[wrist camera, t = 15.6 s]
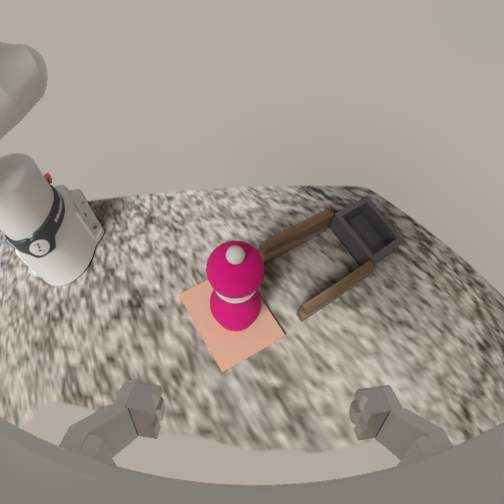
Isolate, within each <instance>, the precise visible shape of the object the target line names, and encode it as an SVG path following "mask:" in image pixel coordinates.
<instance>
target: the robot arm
mask: <svg viewBox="0 0 504 504" xmlns="http://www.w3.org/2000/svg"><path fill="white" fill-rule="evenodd" d="M46 85H47V68H46V64H45V61H44V59H43V58H42V56H41V54H39V52H38V51H36V50H35V49H34V48H32V47H30V46H27V45H22V44H18V45H17V44H7V43H2V42H0V139H1V138H2V137H3V136H4V135H6V134H7V133H8V132H9V131H10V130H11V129H12V128H13V127H14V126H16V125H17V124H18V123H19V122H20V121H21V120H22V119H23V118H24V116H26V114H27V113H28V112H29V111H30V110H31V109H32V108H33V107H34V105H36V103H37V102H38V101H39V100H40V99H41V98H42V97H43V95H44V93H45V89H46ZM50 183H52V178H51V176H50V174H49V173H47V174H45V175H44V176H43V174H42V173H41V171H40V169H39V168H38V166H37V165H36V163H35V161H34V160H33V159H32V158H31V157H29V156H27V155H25V154H19V153H17V154H9V155H6V156H3V157H1V158H0V230H1V231H2V232H3V233H4V234H5V236H6V238H7V240H8V241H9V242H10V244H11V245H12V246H13V247H14V248H16V253H17V255H18V256H19V257H20V258H21V259H22V260H23V261H24V262H25V263H26V264H27V265H28V266H29V273H30V274H31V275H32V276H35V277H40V278H42V279H43V280H44V281H45V282H47V283H48V284H50V285H54V286H61V285H65V284H68V283H70V282H72V281H74V280H75V279H76V278H78V277H79V276H80V275H81V274H82V273H83V272H84V270H85V269H86V268H87V266H88V265H89V263H90V261H91V259H92V256H93V253H94V250H95V247H96V245H97V243H98V242H99V241H100V239H101V238H102V236H103V234H104V229H103V227H102V226H101V224H100V222H99V221H98V219H97V217H96V216H95V214H94V212H93V211H92V209H91V207H90V205H89V204H88V202H87V200H86V199H85V197H84V195H83V193H82V192H81V191H80V190H71V191H69V190H68V189H67V187H66V186H64V185H59V186H55V187H53V186H52V185H50ZM96 227H97V228H96ZM95 228H96V229H95ZM161 395H162V389H161V386H159V385H153V384H147V383H142V382H136V381H131V380H126V381H125V382H124V383H123V385H122V387H121V389H120V391H119V393H118V395H117V397H116V399H115V401H114V403H113V405H108V406H106V407H104V408H102V409H101V410H99V411H97V412H95V413H94V414H92V415H90V416H88V417H86V418H85V419H83V420H81V421H79V422H77V423H75V424H73V425H71V426H70V427H69V429H68V430H67V433H66V434H65V436H64V438H63V440H62V441H61V443H60V445H59V446H57V445H54V444H52V443H50V442H47V441H45V440H43V439H41V438H38V437H37V436H35V435H33V434H30V433H28V432H26V431H25V430H23V429H21V428H19V427H17V426H15V425H13V424H11V423H10V422H8V421H6V420H5V419H3V418H1V417H0V504H504V423H502V424H500V425H498V426H496V427H494V428H492V429H490V430H488V431H486V432H484V433H482V434H480V435H478V436H476V437H474V438H472V439H470V440H468V441H466V442H463V443H461V444H459V445H456V446H454V447H453V445H452V443H451V442H450V440H449V438H448V437H447V435H446V433H445V431H444V430H443V429H442V428H440V427H438V426H436V425H435V424H433V423H431V422H429V421H427V420H426V419H424V418H422V417H420V416H418V415H417V414H415V413H413V412H411V411H410V410H408V409H406V408H405V409H403V408H402V406H401V404H400V402H399V400H398V399H397V397H396V395H395V393H394V392H393V390H392V388H391V387H390V386H389V385H385V386H379V387H371V388H364V389H358V390H357V391H356V392H355V395H354V396H355V400H354V401H353V402H352V403H351V406H350V411H349V415H350V419H351V422H352V423H354V424H355V425H356V426H355V428H354V431H355V433H356V436H357V439H358V440H363V439H370V438H375V439H376V440H378V441H379V442H380V443H381V444H382V445H383V446H385V447H386V448H387V449H388V450H389V451H391V452H392V453H393V454H394V455H396V456H397V457H398V458H399V459H400V460H401V461H400V462H399V464H398V465H397V466H396V467H392V468H389V469H385V470H381V471H376V472H372V473H367V474H363V475H358V476H353V477H347V478H341V479H334V480H327V481H319V482H310V483H299V484H283V485H230V484H229V485H228V484H215V483H203V482H194V481H186V480H179V479H172V478H166V477H161V476H156V475H151V474H146V473H141V472H137V471H133V470H129V469H125V468H121V467H117V466H116V464H115V463H114V461H113V459H112V457H114V456H115V455H116V454H118V453H119V452H120V451H121V450H122V449H124V448H125V447H126V446H127V445H129V444H130V443H131V442H132V441H133V440H134V439H136V438H137V437H138V436H143V437H149V438H156V439H157V438H158V434H159V431H160V423H159V422H160V421H161V420H163V417H164V411H165V403H164V399H163V398H162V397H161Z"/></svg>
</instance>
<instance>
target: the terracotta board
mask: <svg viewBox="0 0 504 504" xmlns="http://www.w3.org/2000/svg"><path fill="white" fill-rule="evenodd" d="M213 290H214V289H213V288H212V286H211V285H210V283H209V280H206V281H204V282H202V283H200V284H198V285H196V286H194V287H192V288H190V289H188V290H186V291H184V292H183V293H181V294H179V295H180V297H181V299H182V301H183V303H184V305H185V307H186V309H187V311H188V312H189V314H190V316H191V318H192V320H193V322H194V323H195V325H196V327H197V329H198V331H199V333H200V334H201V336H202V338H203V340H204V341H205V343H206V345H207V347H208V348H209V350H210V352H211V354H212V355H213V357H214V359H215V360H216V362H217V364H218V366H219V367H220V369H221V371H222V372H224V371H225V370H227V369H229V368H231V367H233V366H235V365H236V364H238V363H240V362H242V361H243V360H245V359H247V358H249V357H250V356H252V355H254V354H256V353H257V352H259V351H261V350H262V349H264V348H266V347H267V346H269V345H271V344H272V343H274V342H276V341H277V340H279V339H281V338H282V337H284V336H285V334H284V332H283V331H282V329H281V328H280V326H279V325H278V323H277V322H276V320H275V319H274V317H273V316H272V314H271V313H270V311H269V310H268V308H267V307H266V305H265V303H264V302H263V300H262V299H261V311H260V314H259V316H258V317H257V319H256V320H255V321H254V322H253V323H252V324H251V325H250V326H249V327H248V328H247V329H245V330H242V331H230V330H227V329H225V328H224V327H222V326H221V325H220V324H219V323H218V322H217V321H216V320H215V318H214V317H213V315H212V313H211V310H210V296H211V294H212V291H213Z"/></svg>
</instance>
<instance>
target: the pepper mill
mask: <svg viewBox="0 0 504 504" xmlns="http://www.w3.org/2000/svg"><path fill="white" fill-rule="evenodd" d="M206 272H207V278H208V280H209V283H210V285H211V286H212V288H213V289H214V290H213V291H212V294H211V296H210V310H211V313H212V315H213V317H214V318H215V320H216V321H217V322H218V323H219V324H220V325H221V326H222V327H224V328H225V329H227V330H230V331H242V330H245V329H247V328H248V327H249V326H250V325H251V324H252V323H253V322H254V321H255V320H256V319H257V317H258V316H259V314H260V311H261V297H260V294H259V292H258V290H257V289H258V288H259V286H260V285H261V283H262V281H263V278H264V272H265V269H264V262H263V259H262V257H261V255H260V254H259V252H258V251H257V250H256V249H255V248H254V247H253V246H251V245H250V244H248V243H245V242H242V241H230V242H226V243H223V244H221V245H220V246H218V247H217V248H216V249H215V250H214V251H213V252H212V253H211V255H210V257H209V259H208V262H207V269H206Z"/></svg>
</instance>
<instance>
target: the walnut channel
mask: <svg viewBox="0 0 504 504" xmlns="http://www.w3.org/2000/svg"><path fill="white" fill-rule="evenodd" d="M332 217H333V214H332V212H331V211H330V210H329V209H326V210H324V211H322V212H321V213H319V214H317V215H315V216H313V217H311V218H309V219H307V220H305V221H303V222H301V223H299V224H297V225H295V226H293V227H291V228H289V229H287V230H285V231H283V232H281V233H279V234H277V235H275V236H273V237H271V238H269V239H267V240H265V241H263V242H261V243H260V248H259V254H260V255H261V257H262V259H263V262H264V264H265V263H267V262H269V261H271V260H272V259H274V258H276V257H278V256H280V255H282V254H283V253H285V252H287V251H289V250H291V249H293V248H295V247H296V246H298V245H300V244H302V243H304V242H306V241H307V240H309V239H311V238H313V237H315V236H317V235H318V234H320V233H322V232H324V231H326V229H327V227H328V225H329V223H330V221H331V219H332ZM374 268H375V266H374V265H373V263H372V262H371V261H370V260H369V261H368V262H366V263H365V264H364V265H362V266H361V267H359V268H358V269H356V270H355V271H353V272H352V273H351V274H349V275H348V276H346V277H345V278H343V279H342V280H340V281H339V282H337V283H336V284H334V285H333V286H331V287H330V288H328V289H327V290H325V291H323V292H322V293H320V294H319V295H317V296H316V297H314V298H313V299H311V300H309V301H308V302H306V303H305V304H303V305H302V307H301V308H300V309H299V311H298V312H297V316H298V317H299V319H300V320H301V322H302V321H303V320H305V319H306V318H308V317H310V316H311V315H313V314H314V313H316V312H317V311H319V310H320V309H322V308H323V307H325V306H326V305H328V304H329V303H331V302H332V301H334V300H335V299H337V298H338V297H339V296H341V295H342V294H344V293H345V292H347V291H348V290H349V289H351V288H352V287H354V286H355V285H357V284H358V283H359V282H361V281H362V280H363V279H365V278H366V277H367V276H368V274H369V273H370V272H371V271H372V270H373V269H374Z"/></svg>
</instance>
